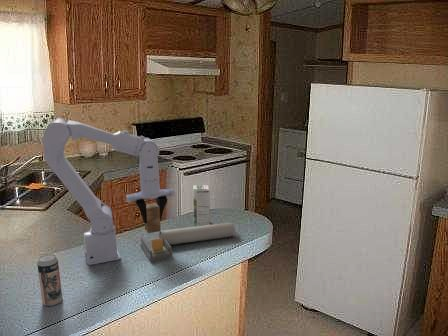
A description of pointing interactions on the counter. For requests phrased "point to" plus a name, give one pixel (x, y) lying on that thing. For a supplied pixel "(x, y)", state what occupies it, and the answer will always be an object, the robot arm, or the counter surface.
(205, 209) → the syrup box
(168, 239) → the tube
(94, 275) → the counter surface
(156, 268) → the counter surface
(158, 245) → the switch knob
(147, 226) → the walnut peg
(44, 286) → the beer can
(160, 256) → the grey open tray
